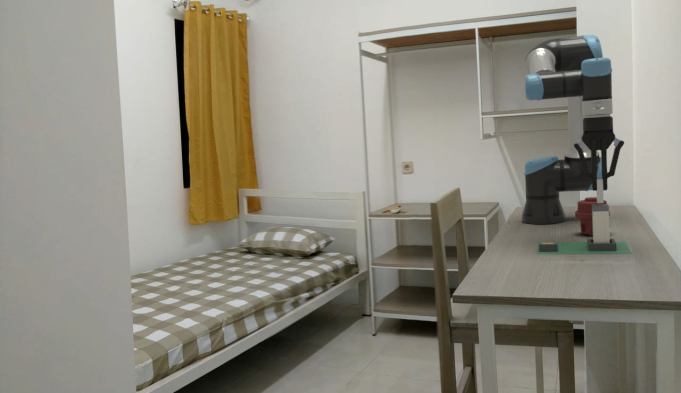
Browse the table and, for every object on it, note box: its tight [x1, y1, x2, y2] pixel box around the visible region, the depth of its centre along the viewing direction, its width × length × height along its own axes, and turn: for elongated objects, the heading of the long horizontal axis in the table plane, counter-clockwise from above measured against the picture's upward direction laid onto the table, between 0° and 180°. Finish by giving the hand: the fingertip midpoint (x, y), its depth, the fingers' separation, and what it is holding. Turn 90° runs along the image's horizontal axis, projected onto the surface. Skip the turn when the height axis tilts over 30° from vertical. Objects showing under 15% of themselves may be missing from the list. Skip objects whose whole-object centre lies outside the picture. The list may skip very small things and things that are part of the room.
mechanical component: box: [574, 196, 611, 237], centre depth 191 cm, size 12×10×10 cm
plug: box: [592, 203, 611, 243], centre depth 171 cm, size 4×4×12 cm
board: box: [536, 238, 633, 255], centre depth 174 cm, size 16×24×3 cm, turn 71°
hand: (600, 202), depth 170 cm, fingers closed
